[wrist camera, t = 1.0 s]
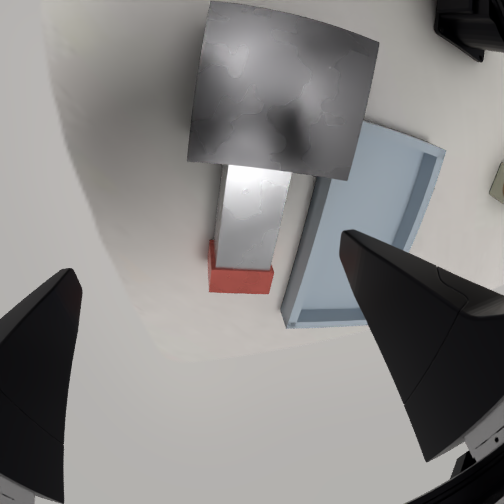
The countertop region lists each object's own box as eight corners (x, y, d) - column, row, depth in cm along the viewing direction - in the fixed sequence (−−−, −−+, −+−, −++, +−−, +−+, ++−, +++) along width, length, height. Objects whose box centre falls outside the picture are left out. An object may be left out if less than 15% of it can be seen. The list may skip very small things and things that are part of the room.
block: (331, 48, 16) (379, 42, 11) (310, 151, 21) (347, 181, 15) (209, 24, 15) (210, 0, 9) (192, 136, 19) (186, 161, 14)
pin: (297, 79, 18) (317, 81, 14) (259, 263, 25) (268, 294, 22) (232, 68, 17) (238, 65, 13) (207, 260, 25) (209, 292, 21)
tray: (428, 142, 21) (446, 150, 19) (363, 308, 31) (372, 324, 29) (332, 111, 19) (347, 116, 17) (280, 309, 29) (286, 328, 27)
